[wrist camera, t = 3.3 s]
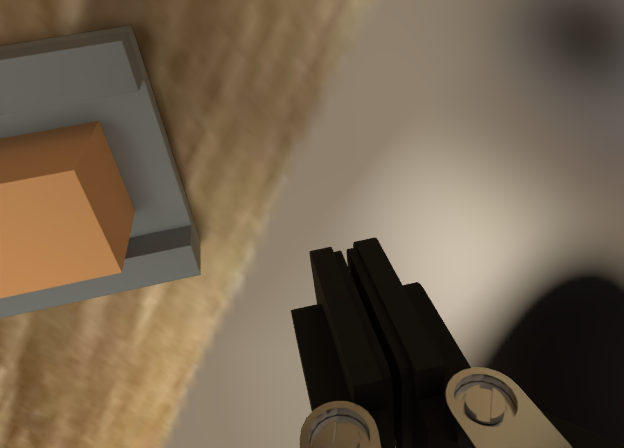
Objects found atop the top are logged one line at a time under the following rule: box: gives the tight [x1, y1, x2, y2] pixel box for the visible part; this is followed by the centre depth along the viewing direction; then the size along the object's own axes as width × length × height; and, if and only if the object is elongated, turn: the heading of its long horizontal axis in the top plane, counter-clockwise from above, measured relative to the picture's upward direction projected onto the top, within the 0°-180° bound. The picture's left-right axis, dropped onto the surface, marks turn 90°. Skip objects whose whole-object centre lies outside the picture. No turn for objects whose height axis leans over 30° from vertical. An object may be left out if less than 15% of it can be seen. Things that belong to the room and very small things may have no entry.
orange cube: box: [0, 121, 135, 298], centre depth 16 cm, size 4×4×4 cm
